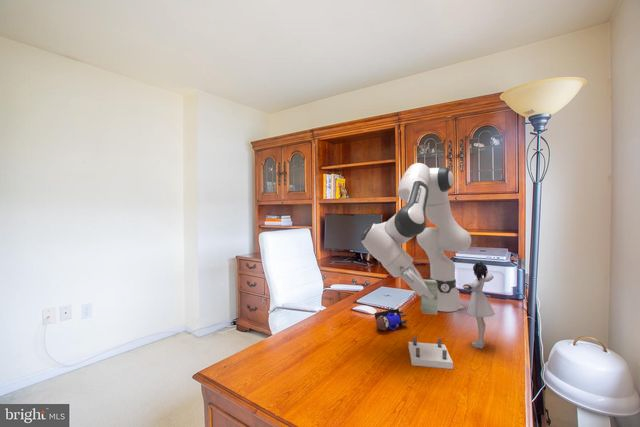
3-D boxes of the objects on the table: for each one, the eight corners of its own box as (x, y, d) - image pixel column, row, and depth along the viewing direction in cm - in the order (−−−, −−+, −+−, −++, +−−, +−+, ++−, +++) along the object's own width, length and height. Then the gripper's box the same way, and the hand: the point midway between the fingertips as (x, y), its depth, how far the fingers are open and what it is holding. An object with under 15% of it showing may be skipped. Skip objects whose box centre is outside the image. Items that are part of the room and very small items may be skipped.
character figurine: (410, 329, 121) (380, 336, 115) (398, 321, 128) (369, 328, 121) (411, 310, 120) (381, 317, 114) (399, 304, 127) (370, 310, 120)
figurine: (479, 332, 116) (479, 256, 116) (504, 339, 110) (504, 259, 110) (454, 355, 99) (454, 265, 98) (481, 364, 93) (482, 269, 92)
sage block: (420, 308, 100) (420, 279, 100) (434, 309, 99) (435, 279, 99) (422, 313, 96) (422, 282, 96) (437, 314, 95) (437, 283, 95)
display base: (408, 347, 105) (408, 334, 105) (444, 350, 103) (444, 337, 102) (411, 365, 93) (411, 351, 93) (452, 369, 91) (452, 354, 91)
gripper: (410, 264, 88) (444, 298, 87) (404, 253, 108) (432, 281, 107) (394, 278, 89) (428, 312, 88) (392, 265, 109) (419, 292, 108)
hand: (431, 295), depth 97 cm, fingers closed on sage block, 4 cm apart
